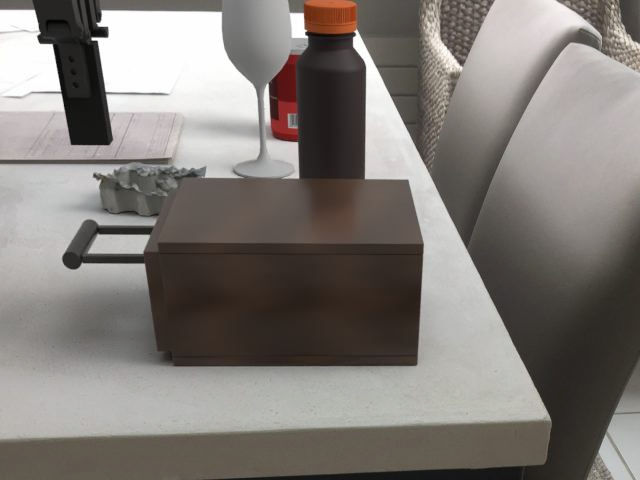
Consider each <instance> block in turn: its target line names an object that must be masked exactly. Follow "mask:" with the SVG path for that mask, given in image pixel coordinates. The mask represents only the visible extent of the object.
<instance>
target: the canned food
mask: <svg viewBox="0 0 640 480" xmlns="http://www.w3.org/2000/svg"><path fill="white" fill-rule="evenodd" d="M307 47H308V37H292V42H291V51H290V54H289V57H288V60H287V61H286V63H285V65H284V66H283V68H282V69H281V70H280V71H279V72H278V74H277V75H276V76H275V77H274V78H273V79H272V80H271V81H270V82H269V83H268V84H267V86H268V101H269V121H270V129H271V132H272V135H273V136H274V137H275V138H277V139H279V140H284V141H289V142H298V125H297V94H296V61H297V59H298V58H299V57H300V55H301V54H302V53H303V52H304V50H305V49H306V48H307Z"/></svg>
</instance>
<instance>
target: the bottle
mask: <svg viewBox="0 0 640 480" xmlns="http://www.w3.org/2000/svg"><path fill="white" fill-rule="evenodd" d="M357 21H358V4H357V3H356V2H354V1H352V0H306V1H304V2H303V23H304V24H303V29H304V30H305V32H304V35H305V36H306V37H307V38H308V47H307V48H306V49H305V50H304V52H303V53H302V54H301V55H300V57H299V58H298V59H297V61H296V94H297V125H298V141H297V151H298V152H297V154H298V179H366V137H367V136H366V135H367V133H366V131H367V130H366V128H367V127H366V125H367V124H366V123H367V109H366V108H367V64H366V61H365V60H364V57H362V56H361V55H360V53H359V52H358V50H356V48H355V47H354V38H355V37H356V36H357V32H356V31H357V30H358V22H357Z"/></svg>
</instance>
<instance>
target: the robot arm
mask: <svg viewBox="0 0 640 480" xmlns="http://www.w3.org/2000/svg"><path fill="white" fill-rule="evenodd" d="M31 1H32V5H33V9H34V12H35V17H36V21H37V26H38V31H39V32H40V33H38V34H37V35H36V38H37V41H38V43H39V45H52V49H53V55H54V61H55V65H56V70H57V77H58V82H59V87H60V94H61V97H62V103H63V110H64V115H65V120H66V126H67V131H68V136H69V142H70V146H110V145H111V144H112V142H113V141H114V136H113V129H112V123H111V117H110V110H109V103H108V98H107V91H106V85H105V84H106V83H105V78H104V71H103V64H102V59H101V52H100V46H99V40H98V39H108V38H109V35H110V34H109V33H110V32H109V31H110V30H109V26H99V24H101V22H102V20H103V19H102V17H103V11H102V9H101V3H100V0H31ZM94 39H95V40H94ZM96 39H97V40H96Z"/></svg>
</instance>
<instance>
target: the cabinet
mask: <svg viewBox="0 0 640 480" xmlns="http://www.w3.org/2000/svg"><path fill="white" fill-rule="evenodd" d="M411 189H412V188H411V184H410V180H409V179H405V178H404V179H402V178H401V179H394V178H393V179H391V178H389V179H388V178H387V179H386V178H365V179H299V178H295V177H294V178H289V177H288V178H286V177H281V178H247V177H205V178H204V177H202V178H185V177H184V178H183V180H182V183H181V185H180V188H179V190H178V193H177V195H176V198H175V200H174V203H173V205H172V208H171V210H170V213H169V215H168V218H167V220H166V223H165V225H164V228H163V230H162V232H161V235H160V237H159V240H158V242H157V244H158V251H159V258H160V266H161V273H162V281H163V289H164V296H165V304H166V311H167V319H168V327H169V334H170V342H171V349H172V351H171V356H172V364H173V366H176V367H177V366H178V367H180V366H181V367H183V366H184V367H186V366H188V367H193V366H195V367H196V366H201V367H202V366H204V367H206V366H209V367H210V366H211V367H213V366H219V367H220V366H417V365H418V362H419V346H420V345H419V343H420V327H421V326H420V325H421V324H420V323H421V309H422V307H421V306H422V288H423V272H424V271H423V270H424V254H425V253H424V252H425V250H424V249H425V242H424V239H423V234H422V231H421V225H420V221H419V218H418V213H417V209H416V205H415V201H414V197H413V193H412V190H411Z"/></svg>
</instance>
